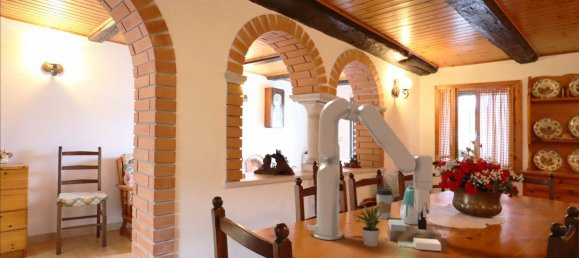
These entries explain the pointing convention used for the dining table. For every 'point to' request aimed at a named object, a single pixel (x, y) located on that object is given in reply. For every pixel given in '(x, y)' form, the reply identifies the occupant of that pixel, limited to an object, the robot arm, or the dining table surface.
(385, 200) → the coffee cup
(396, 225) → the gray rectangular block
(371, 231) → the house plant
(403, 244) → the mat
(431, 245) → the cream block
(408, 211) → the vase
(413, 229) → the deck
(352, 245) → the dining table surface
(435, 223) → the dining table surface
